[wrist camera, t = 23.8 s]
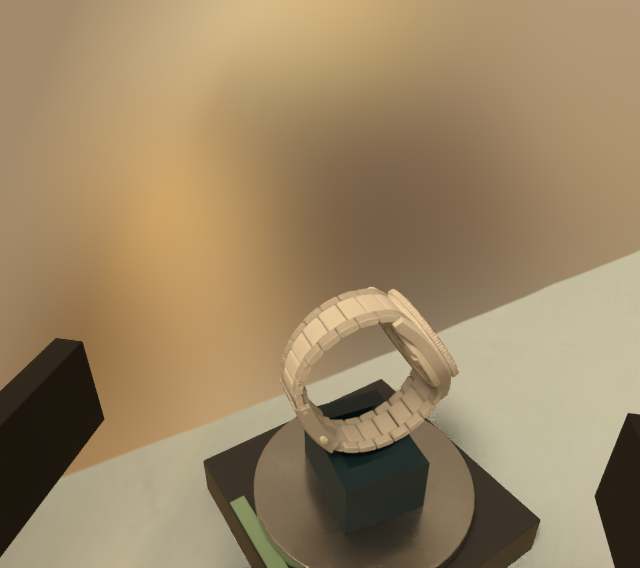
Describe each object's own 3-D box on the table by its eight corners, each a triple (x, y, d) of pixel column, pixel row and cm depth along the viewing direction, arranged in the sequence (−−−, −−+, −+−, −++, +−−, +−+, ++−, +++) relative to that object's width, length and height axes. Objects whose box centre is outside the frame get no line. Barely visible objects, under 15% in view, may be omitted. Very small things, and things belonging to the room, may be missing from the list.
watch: (456, 493, 27) (490, 315, 22) (309, 547, 25) (305, 361, 19) (403, 420, 32) (419, 256, 26) (274, 459, 29) (262, 288, 24)
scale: (328, 706, 22) (328, 677, 21) (207, 488, 32) (202, 459, 30) (531, 548, 28) (541, 518, 27) (379, 404, 38) (381, 377, 37)
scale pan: (333, 650, 22) (333, 639, 21) (218, 461, 30) (217, 451, 30) (521, 514, 27) (524, 504, 27) (379, 386, 36) (380, 377, 35)
